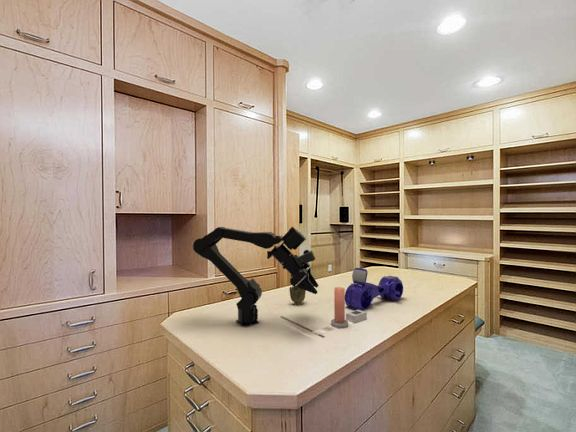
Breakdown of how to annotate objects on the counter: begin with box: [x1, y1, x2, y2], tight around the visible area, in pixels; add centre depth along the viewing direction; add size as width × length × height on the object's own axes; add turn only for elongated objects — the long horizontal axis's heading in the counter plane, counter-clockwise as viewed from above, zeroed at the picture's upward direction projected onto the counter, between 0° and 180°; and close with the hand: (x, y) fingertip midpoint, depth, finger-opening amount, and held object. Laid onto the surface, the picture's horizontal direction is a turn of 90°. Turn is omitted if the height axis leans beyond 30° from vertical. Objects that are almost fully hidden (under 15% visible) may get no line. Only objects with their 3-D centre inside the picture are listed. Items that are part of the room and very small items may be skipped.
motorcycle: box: [345, 267, 404, 311], centre depth 130 cm, size 35×14×18 cm, turn 128°
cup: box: [288, 285, 307, 306], centre depth 128 cm, size 8×7×8 cm
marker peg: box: [330, 286, 349, 329], centre depth 103 cm, size 6×6×13 cm
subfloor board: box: [280, 315, 354, 339], centre depth 110 cm, size 26×24×1 cm
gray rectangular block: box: [345, 309, 368, 324], centre depth 108 cm, size 7×4×3 cm, turn 127°
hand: (317, 289), depth 104 cm, fingers open, 9 cm apart
